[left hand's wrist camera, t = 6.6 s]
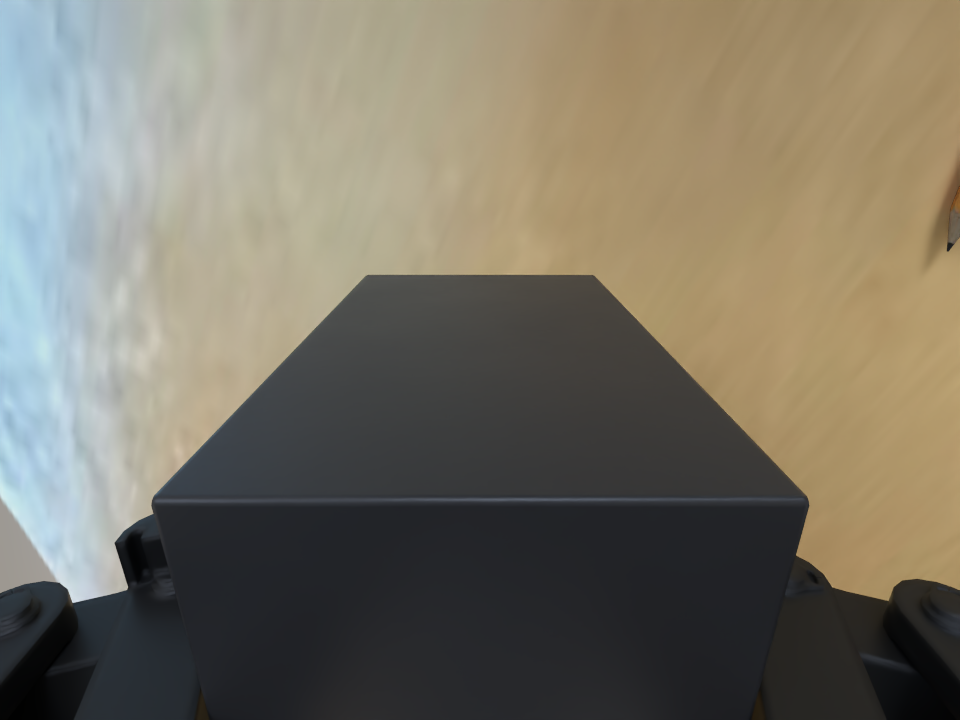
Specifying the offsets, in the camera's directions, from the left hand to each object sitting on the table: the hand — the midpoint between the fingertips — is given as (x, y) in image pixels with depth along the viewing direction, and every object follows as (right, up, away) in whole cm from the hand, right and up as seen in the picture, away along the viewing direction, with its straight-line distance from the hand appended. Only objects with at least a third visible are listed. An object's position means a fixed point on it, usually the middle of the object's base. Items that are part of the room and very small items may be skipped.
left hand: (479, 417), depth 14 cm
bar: (0, -10, +4) cm, 11 cm away
